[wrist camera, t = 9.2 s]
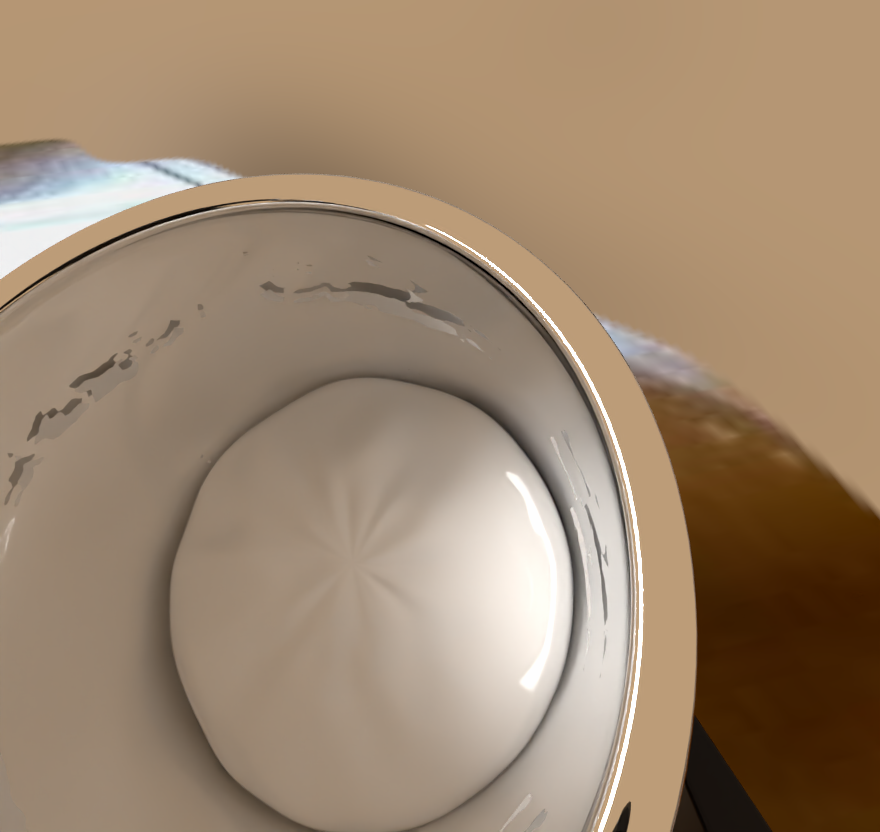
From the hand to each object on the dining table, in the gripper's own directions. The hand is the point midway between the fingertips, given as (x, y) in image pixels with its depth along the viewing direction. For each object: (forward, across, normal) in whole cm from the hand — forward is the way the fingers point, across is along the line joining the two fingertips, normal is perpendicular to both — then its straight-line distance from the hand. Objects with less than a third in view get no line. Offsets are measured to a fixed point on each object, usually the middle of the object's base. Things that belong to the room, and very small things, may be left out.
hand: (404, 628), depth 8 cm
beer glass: (+7, 0, +6) cm, 9 cm away
